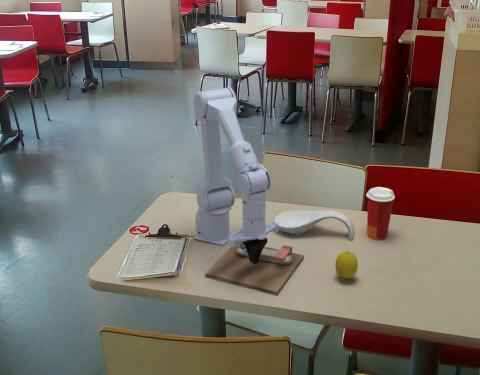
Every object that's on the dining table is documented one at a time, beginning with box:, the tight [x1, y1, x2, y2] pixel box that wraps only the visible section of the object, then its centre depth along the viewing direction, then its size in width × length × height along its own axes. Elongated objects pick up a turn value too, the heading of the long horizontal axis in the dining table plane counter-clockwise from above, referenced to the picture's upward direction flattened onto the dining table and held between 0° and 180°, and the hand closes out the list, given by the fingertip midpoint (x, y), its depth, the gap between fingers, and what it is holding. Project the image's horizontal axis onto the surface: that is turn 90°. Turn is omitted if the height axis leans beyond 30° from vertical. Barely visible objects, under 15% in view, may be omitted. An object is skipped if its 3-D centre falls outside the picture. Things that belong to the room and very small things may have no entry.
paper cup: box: [366, 186, 396, 241], centre depth 156 cm, size 8×8×14 cm
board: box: [204, 242, 305, 296], centre depth 144 cm, size 20×19×1 cm
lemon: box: [334, 250, 359, 280], centre depth 137 cm, size 6×6×8 cm
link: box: [237, 243, 292, 265], centre depth 146 cm, size 16×4×2 cm, turn 65°
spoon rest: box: [273, 209, 355, 241], centre depth 161 cm, size 24×12×7 cm, turn 74°
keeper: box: [274, 244, 293, 261], centre depth 144 cm, size 2×7×3 cm, turn 154°
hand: (254, 262), depth 141 cm, fingers closed
